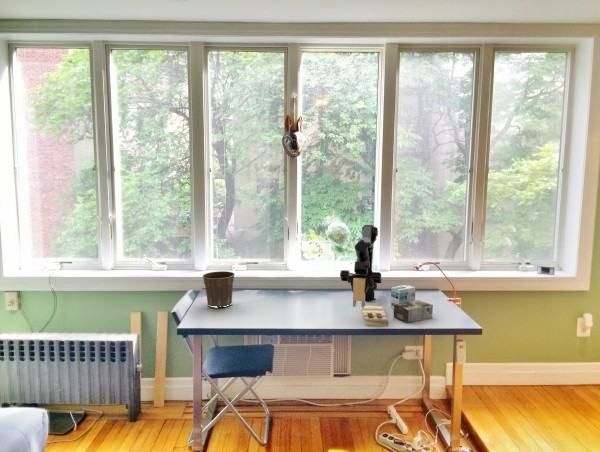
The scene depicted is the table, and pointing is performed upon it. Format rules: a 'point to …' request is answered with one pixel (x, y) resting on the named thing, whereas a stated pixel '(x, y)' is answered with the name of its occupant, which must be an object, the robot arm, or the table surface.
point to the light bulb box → (402, 294)
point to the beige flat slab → (374, 315)
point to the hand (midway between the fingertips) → (358, 292)
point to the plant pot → (219, 288)
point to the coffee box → (413, 311)
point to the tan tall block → (359, 291)
